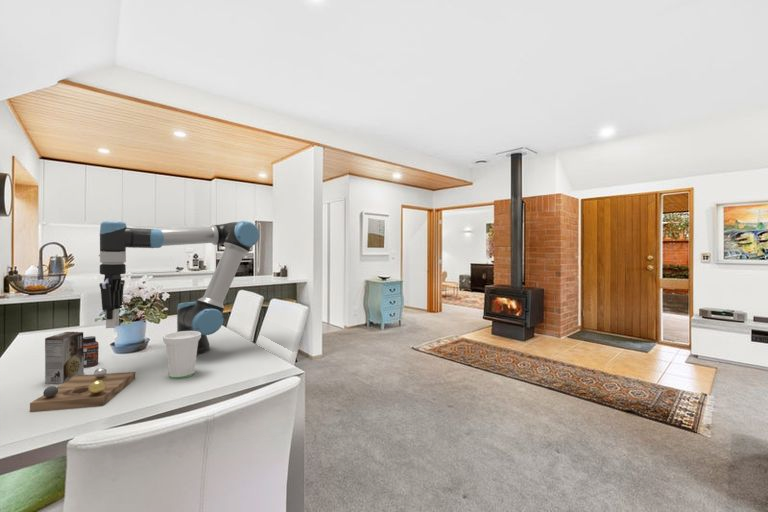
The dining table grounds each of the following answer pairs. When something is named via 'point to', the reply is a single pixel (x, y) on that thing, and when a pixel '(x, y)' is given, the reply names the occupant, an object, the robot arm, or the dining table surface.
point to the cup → (181, 353)
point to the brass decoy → (97, 387)
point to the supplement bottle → (90, 351)
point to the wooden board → (83, 392)
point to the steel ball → (100, 373)
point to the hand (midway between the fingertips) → (112, 327)
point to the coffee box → (63, 357)
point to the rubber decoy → (50, 391)
